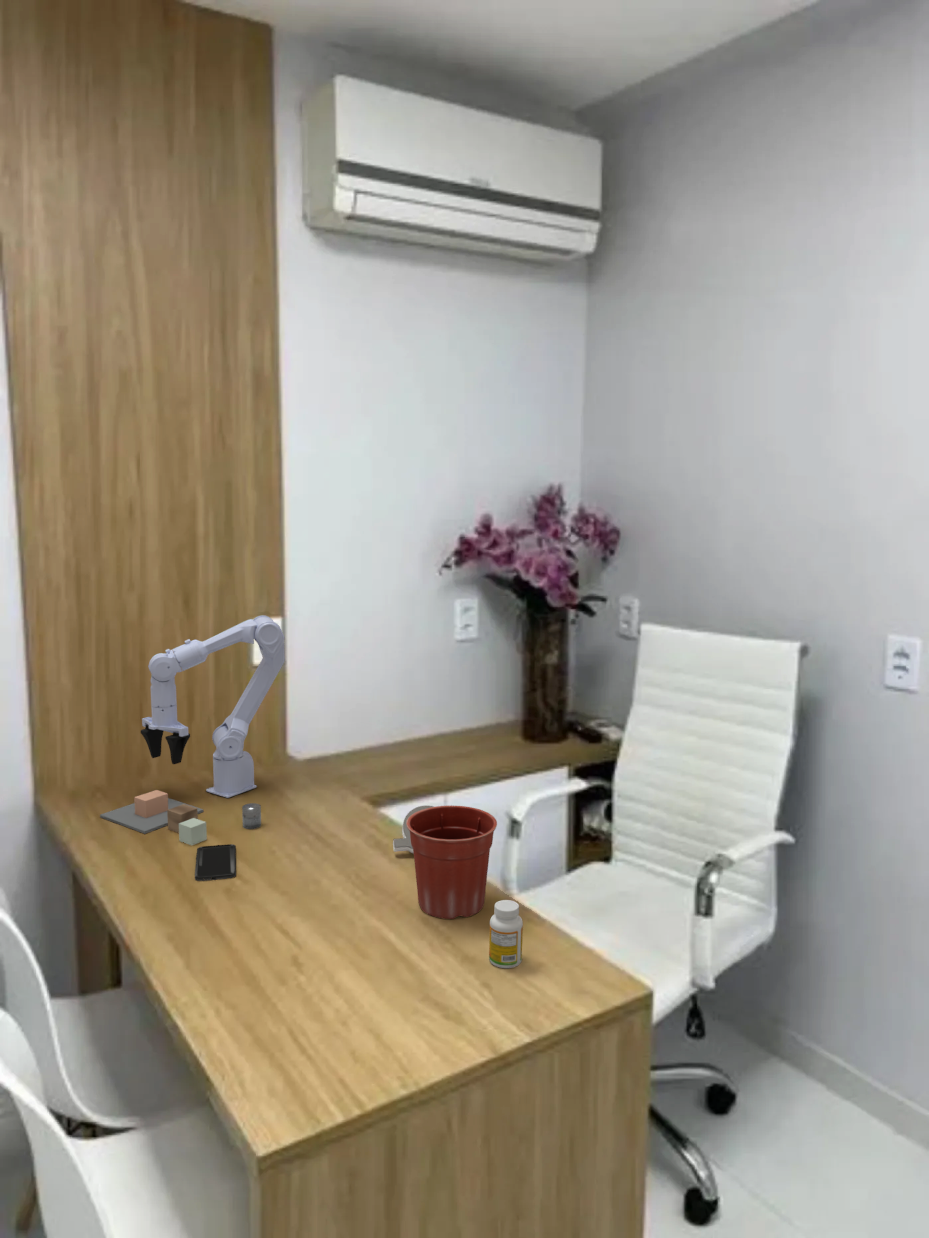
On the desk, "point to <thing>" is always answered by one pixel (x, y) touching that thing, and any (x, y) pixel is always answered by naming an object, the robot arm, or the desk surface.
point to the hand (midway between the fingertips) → (166, 760)
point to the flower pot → (451, 858)
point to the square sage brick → (192, 831)
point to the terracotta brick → (151, 803)
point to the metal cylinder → (251, 816)
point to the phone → (215, 862)
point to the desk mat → (139, 823)
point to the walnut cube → (180, 816)
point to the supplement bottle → (505, 935)
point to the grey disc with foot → (406, 833)
